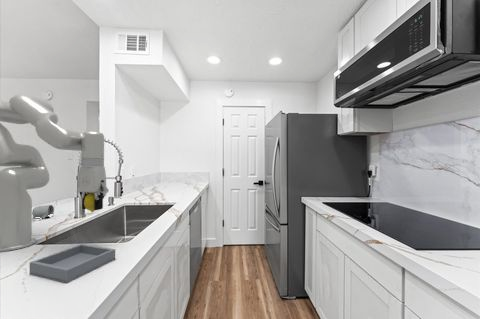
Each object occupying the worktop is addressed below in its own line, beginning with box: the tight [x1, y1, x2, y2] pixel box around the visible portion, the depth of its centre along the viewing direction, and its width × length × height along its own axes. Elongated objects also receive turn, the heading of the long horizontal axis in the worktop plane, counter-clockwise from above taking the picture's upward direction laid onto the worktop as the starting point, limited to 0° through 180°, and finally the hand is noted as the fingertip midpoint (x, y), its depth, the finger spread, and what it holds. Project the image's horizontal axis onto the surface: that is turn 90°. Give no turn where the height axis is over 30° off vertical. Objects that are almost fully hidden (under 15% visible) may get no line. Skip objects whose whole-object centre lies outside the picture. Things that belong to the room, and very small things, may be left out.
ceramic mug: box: [32, 204, 55, 220], centre depth 134 cm, size 11×8×8 cm
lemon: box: [84, 193, 96, 213], centre depth 89 cm, size 6×6×8 cm
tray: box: [29, 243, 116, 284], centre depth 73 cm, size 16×16×4 cm
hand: (92, 208), depth 89 cm, fingers closed on lemon, 5 cm apart
